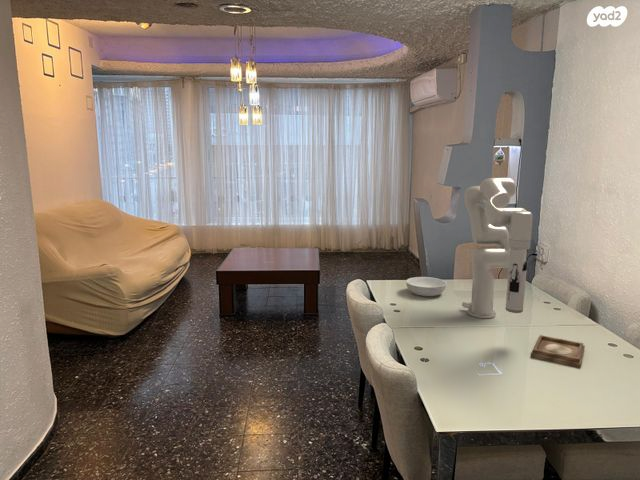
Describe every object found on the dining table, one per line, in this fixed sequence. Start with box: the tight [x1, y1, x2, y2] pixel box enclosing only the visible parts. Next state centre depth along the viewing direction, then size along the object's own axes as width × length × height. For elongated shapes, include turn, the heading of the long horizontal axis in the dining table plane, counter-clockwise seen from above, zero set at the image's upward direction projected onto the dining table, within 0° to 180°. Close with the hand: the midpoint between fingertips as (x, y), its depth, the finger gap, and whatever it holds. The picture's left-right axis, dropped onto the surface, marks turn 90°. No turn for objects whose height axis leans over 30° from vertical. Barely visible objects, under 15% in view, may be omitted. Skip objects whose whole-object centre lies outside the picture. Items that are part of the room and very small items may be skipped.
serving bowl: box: [405, 276, 447, 297], centre depth 244 cm, size 21×21×7 cm
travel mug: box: [505, 261, 528, 314], centre depth 176 cm, size 6×7×20 cm
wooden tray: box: [530, 334, 586, 369], centre depth 172 cm, size 16×18×3 cm
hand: (515, 288), depth 177 cm, fingers closed on travel mug, 6 cm apart
